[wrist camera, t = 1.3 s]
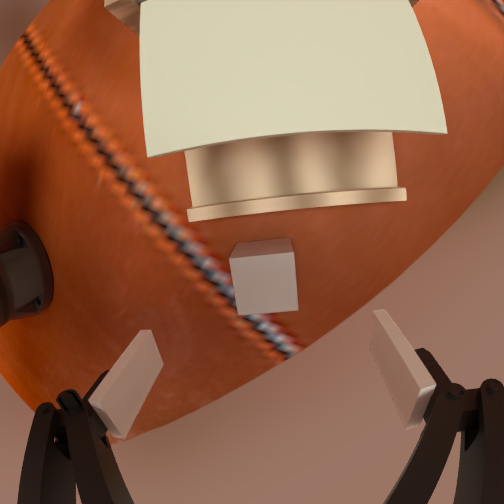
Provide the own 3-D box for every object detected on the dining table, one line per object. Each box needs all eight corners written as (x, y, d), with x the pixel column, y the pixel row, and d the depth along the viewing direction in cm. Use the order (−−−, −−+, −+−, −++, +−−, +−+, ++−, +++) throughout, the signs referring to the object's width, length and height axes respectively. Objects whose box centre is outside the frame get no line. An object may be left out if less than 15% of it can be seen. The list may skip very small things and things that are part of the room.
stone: (244, 291, 30) (238, 315, 25) (237, 242, 29) (228, 258, 23) (294, 286, 30) (298, 310, 24) (289, 237, 28) (293, 252, 23)
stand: (188, 218, 28) (120, 258, 15) (167, 1, 21) (118, -61, 7) (402, 196, 26) (487, 220, 12) (354, -16, 18) (385, -82, 5)
